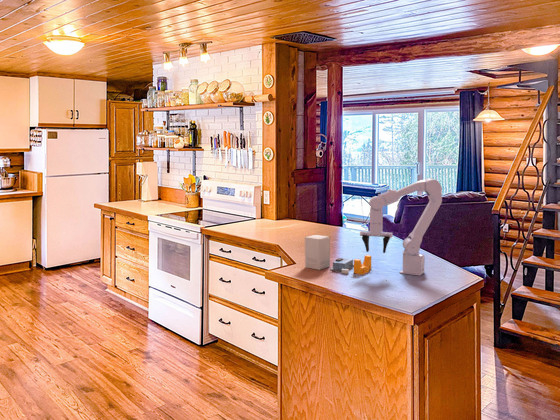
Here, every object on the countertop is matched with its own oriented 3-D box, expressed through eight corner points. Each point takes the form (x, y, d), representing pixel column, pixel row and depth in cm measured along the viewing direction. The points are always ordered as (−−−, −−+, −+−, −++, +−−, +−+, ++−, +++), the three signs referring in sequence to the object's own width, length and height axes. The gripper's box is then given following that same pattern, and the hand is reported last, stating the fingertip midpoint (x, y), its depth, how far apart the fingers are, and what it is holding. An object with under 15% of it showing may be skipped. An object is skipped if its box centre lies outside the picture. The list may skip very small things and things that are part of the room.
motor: (361, 266, 236) (361, 257, 235) (347, 274, 221) (347, 264, 221) (342, 263, 241) (342, 255, 240) (327, 271, 226) (327, 262, 226)
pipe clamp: (362, 275, 220) (362, 261, 219) (353, 273, 223) (353, 259, 222) (374, 269, 230) (374, 256, 229) (366, 268, 232) (366, 255, 231)
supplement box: (330, 266, 235) (330, 236, 233) (319, 270, 229) (319, 239, 227) (315, 263, 241) (315, 234, 240) (304, 267, 235) (304, 236, 233)
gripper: (393, 222, 223) (393, 251, 224) (362, 220, 228) (362, 249, 230) (391, 224, 216) (390, 254, 218) (358, 223, 222) (358, 252, 223)
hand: (375, 252), depth 223 cm, fingers open, 7 cm apart
